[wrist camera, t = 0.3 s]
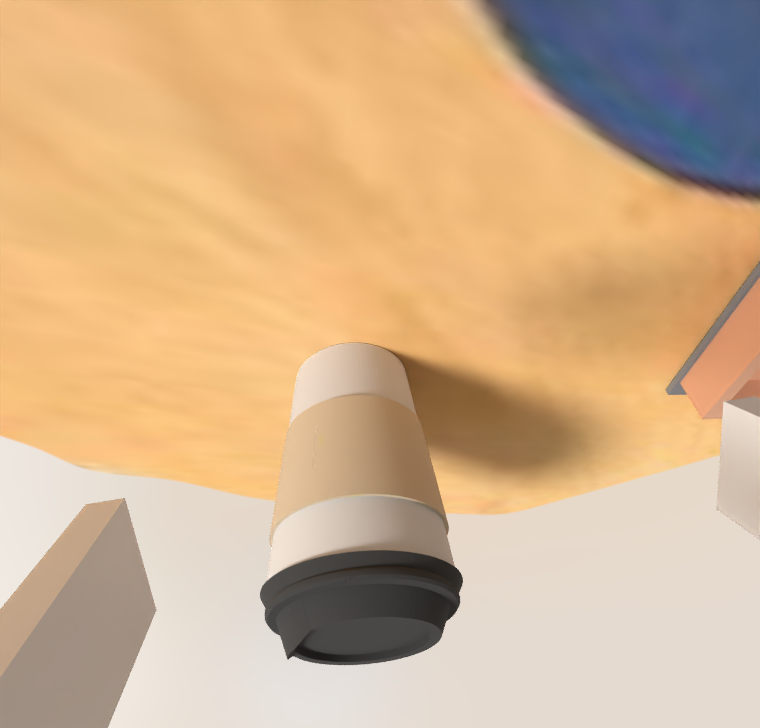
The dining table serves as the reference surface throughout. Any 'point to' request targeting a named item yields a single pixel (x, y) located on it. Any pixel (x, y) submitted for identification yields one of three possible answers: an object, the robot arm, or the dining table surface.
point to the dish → (728, 361)
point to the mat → (712, 333)
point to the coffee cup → (357, 518)
